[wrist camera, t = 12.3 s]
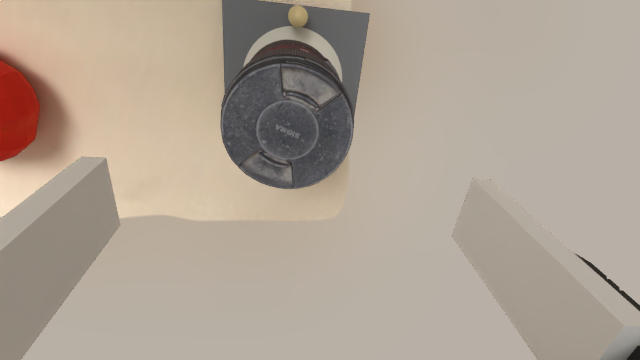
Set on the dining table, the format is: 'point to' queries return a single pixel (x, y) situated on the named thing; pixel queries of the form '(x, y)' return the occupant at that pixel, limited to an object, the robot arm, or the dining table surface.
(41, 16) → the dining table surface
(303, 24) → the mount
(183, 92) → the dining table surface
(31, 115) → the tomato
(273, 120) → the camera lens
